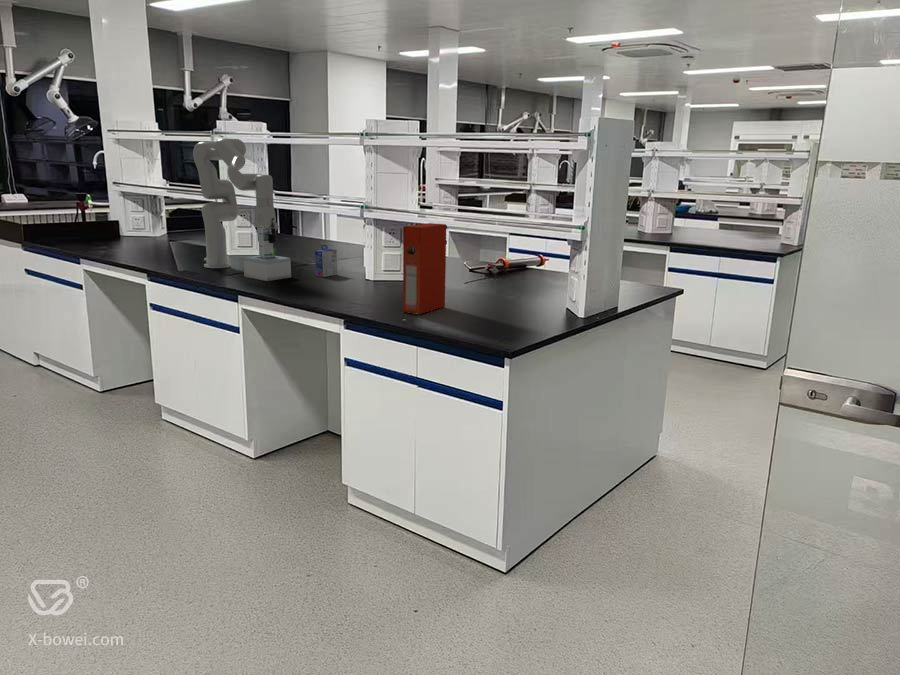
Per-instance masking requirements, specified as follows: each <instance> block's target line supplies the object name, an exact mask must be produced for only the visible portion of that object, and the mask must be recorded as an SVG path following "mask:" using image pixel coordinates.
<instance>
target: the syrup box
mask: <svg viewBox="0 0 900 675" xmlns="http://www.w3.org/2000/svg"><path fill="white" fill-rule="evenodd" d="M271 227H272V226H271ZM271 231H272V229H271ZM269 234H270V233H269V230H268V229H265V228H264V226H262V225H261V226H260V228H258V236H257V243H258V256H260V257H263V258H265V257H275V256H276V245H275V244H276V242H275V243H269Z"/></svg>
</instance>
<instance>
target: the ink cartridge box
mask: <svg viewBox="0 0 900 675" xmlns="http://www.w3.org/2000/svg"><path fill="white" fill-rule="evenodd" d="M320 247H321V249H319V250H315V251H314V257H315V260H314V262H315V276H316V277H320V278H325V277H330V276H331V277H333V276H336V275H338V253H337V252H338V251H337V249H334V248H328V245H327V244H321V245H320Z"/></svg>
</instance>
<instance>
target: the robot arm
mask: <svg viewBox="0 0 900 675" xmlns="http://www.w3.org/2000/svg"><path fill="white" fill-rule="evenodd" d="M192 151H193V152H192V153H193V154H192V156H193V161H194V163H195V167H196V168H197V172H198V179H199V184H200V189H201V194H202V196H203V198H204V199H206V200H222V201H211V202H206V203H204V205H202V207H201V215H202V219H203V224H204V230H205V231H204V233H205V248H206V257H204V259H203V261H205V262H206V263H204V264H203V267H204V268H206V269H207V268H208V269H225V268H226V269H227V268H230V267H231V265H232V264H231V263H228V254H227V253H228V250H227V235H226V229H225V227H224V226H223V223H224V222H233V221H235V220H237V218H238V216H239V209H238V202H237V197H236V190H235V188H236V189H238V190H239V191H242V192H243V191H244V192H245V191H247V192H248V191H255V200H256V201H255V204H256V205H255V206H254V207H255V208H254V214H253V215H254V218H253V219H254V220H253V223H252V224H253V226H254V229H255V232H256V233H257V237H258V228H260V226H261V225H262V226H264V228H265V229H268V230H269V233H270V234H269V243H275V244H276V234H277V232H278V229H279V227H280V226H279V224H278V223H277V218H276V211H275V210H276V209H275V206H274V189H273V188H274V186H273V185H274V184H273V177H272V175H270V174H262V173H242V172H241V169H242V168H244V166H245V164H246V157H245V155H246V152H247V148H246V145H245V143H244V141H242V140H241V139H239V138H227V137H226V138H224V137H223V138H218V139H217V140H216V141H200V142H197V143H196V144H195V145H194V148H193V149H192ZM211 161H223V163H225V164H226V166H227V175H228V179H229V180H228V179H219V177H218V171H217V168H216V167H215V165H214V163H212V162H211ZM221 222H223V223H221ZM271 226H272V227H271ZM271 229H272V231H271Z"/></svg>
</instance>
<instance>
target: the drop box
mask: <svg viewBox="0 0 900 675" xmlns="http://www.w3.org/2000/svg"><path fill="white" fill-rule="evenodd" d="M242 258H243V277H244V278H248V279H255V280H259V281H265V282H271V281H276V280H283V279H289V278H292V267H291V266H292V265H291V264H292V262H291V257H286V256H279V255H275V257H265V258H263V257H260V256H259V255H254V256H253V255H251V256H245V257H243V256H242Z"/></svg>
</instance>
